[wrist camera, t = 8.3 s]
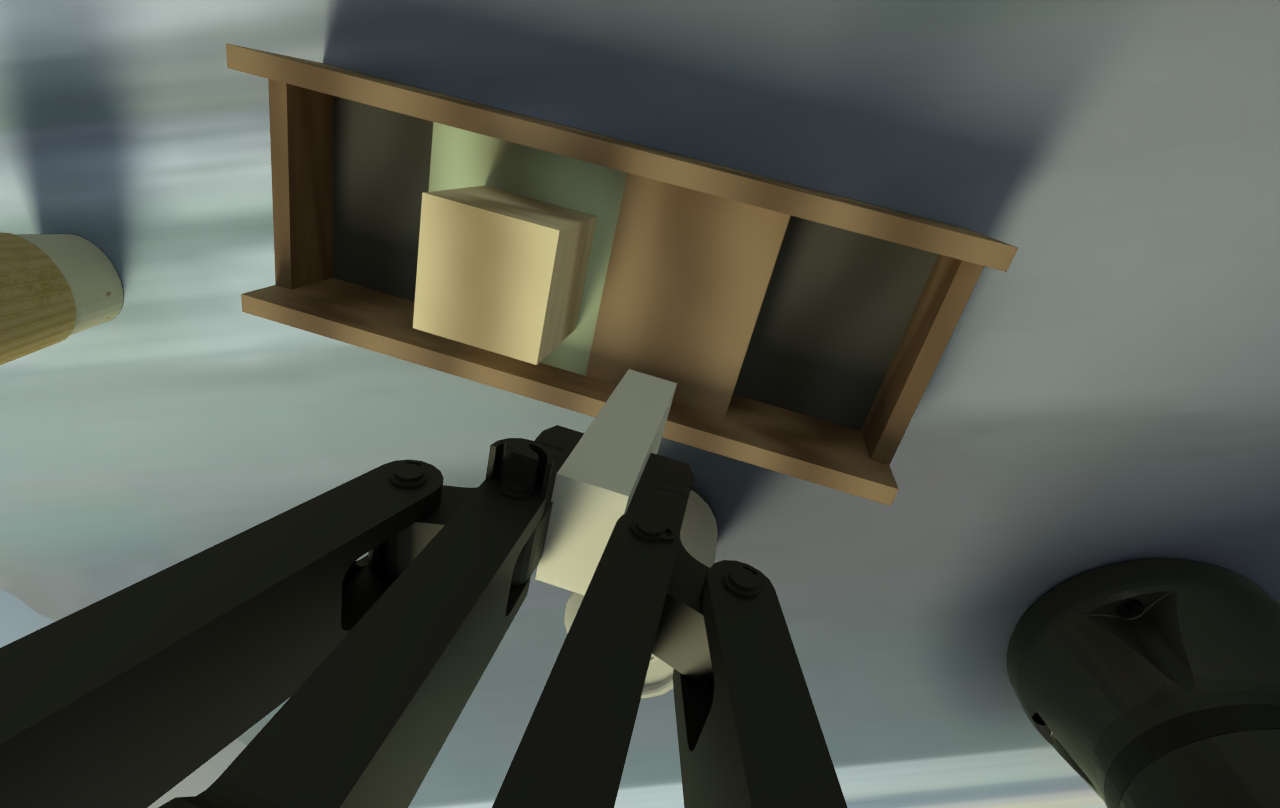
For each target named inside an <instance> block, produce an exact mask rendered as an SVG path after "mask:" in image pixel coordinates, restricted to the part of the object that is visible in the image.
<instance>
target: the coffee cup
mask: <svg viewBox="0 0 1280 808" xmlns="http://www.w3.org/2000/svg"><path fill="white" fill-rule="evenodd" d="M122 305H123V288H122V284H121V281H120V278H119V276H118V274H117V271H116V269H115V268H114V266H113V265H112V263H111V261H110V260H109V259H108V258H107V256H106V255H105V254H104V253H103V252H102V251H101V250H100V249H99V248H98V247H97V246H95V245H94V244H92V243H91V242H90V241H88V240H86V239H84V238H82V237H79V236H76V235H71V234H21V235H14V234H11V233H0V365H2V364H4V363H7V362H10V361H12V360H15V359H17V358H20V357H22V356H25V355H28V354H30V353H33V352H35V351H38V350H40V349H43V348H46V347H48V346H51V345H53V344H56V343H58V342H61V341H63V340H65V339H66V338H67V337H68V336H70V335H72V334H75V333H78V332H80V331H83V330H86V329H88V328H91V327H93V326H96V325H99V324H101V323H104V322H107V321H109V320H111V319H114V318H115V317H116V316H117V315H118V314H119V312H120V311H121V309H122Z"/></svg>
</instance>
